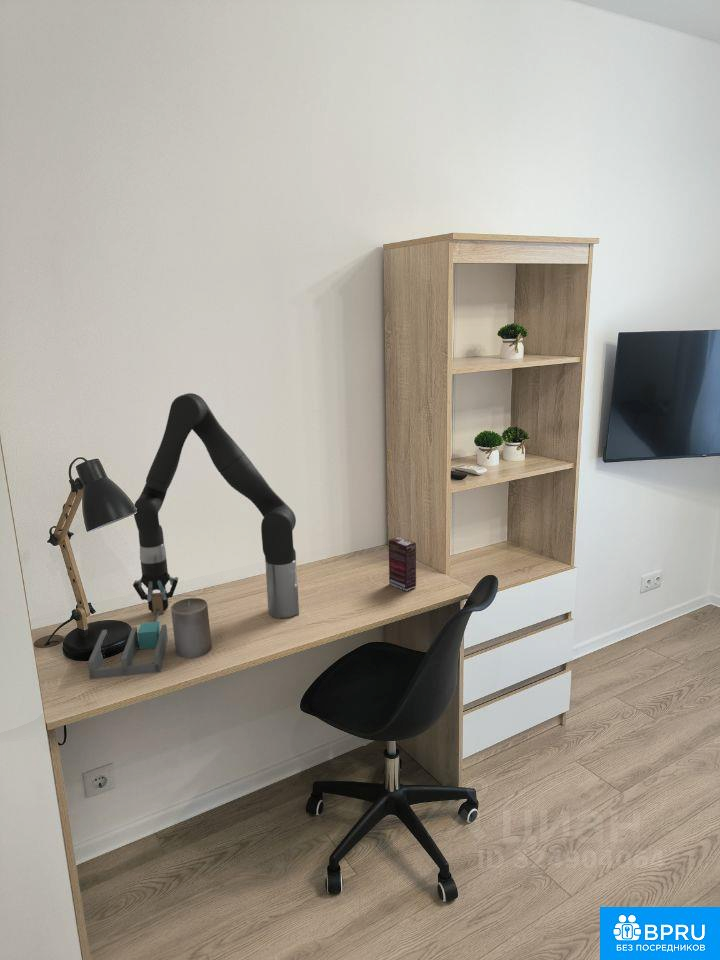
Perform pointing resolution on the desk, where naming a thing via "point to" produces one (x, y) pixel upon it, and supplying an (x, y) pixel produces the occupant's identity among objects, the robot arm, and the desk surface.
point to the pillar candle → (191, 628)
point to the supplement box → (402, 563)
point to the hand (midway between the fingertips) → (158, 610)
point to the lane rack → (127, 657)
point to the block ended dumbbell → (151, 625)
